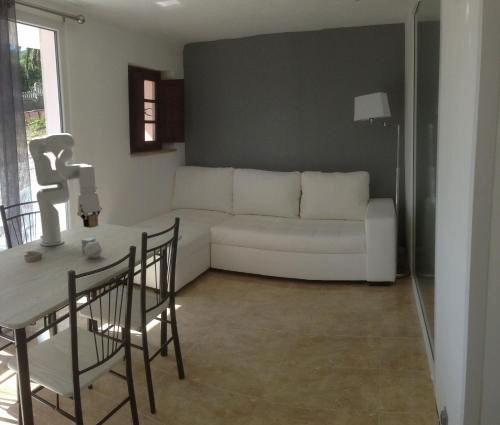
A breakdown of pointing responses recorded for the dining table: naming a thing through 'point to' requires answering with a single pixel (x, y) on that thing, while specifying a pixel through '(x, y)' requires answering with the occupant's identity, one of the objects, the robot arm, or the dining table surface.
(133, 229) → the dining table surface
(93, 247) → the die
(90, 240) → the grey block
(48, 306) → the dining table surface
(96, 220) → the walnut block
